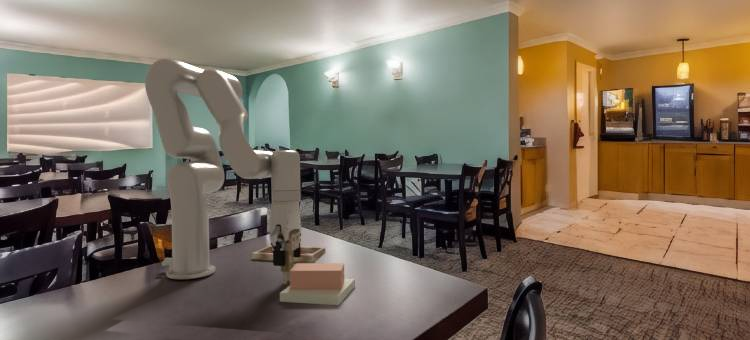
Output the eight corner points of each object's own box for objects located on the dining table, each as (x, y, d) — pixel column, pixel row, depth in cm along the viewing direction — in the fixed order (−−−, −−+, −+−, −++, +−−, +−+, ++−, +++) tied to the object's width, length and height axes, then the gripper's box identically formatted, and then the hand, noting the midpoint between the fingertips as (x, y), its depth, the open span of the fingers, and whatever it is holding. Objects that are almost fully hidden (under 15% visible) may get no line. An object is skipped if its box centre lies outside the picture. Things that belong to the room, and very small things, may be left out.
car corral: (252, 264, 129) (252, 253, 129) (270, 255, 141) (270, 245, 141) (312, 266, 125) (312, 255, 125) (325, 257, 137) (325, 247, 137)
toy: (293, 286, 105) (292, 228, 105) (269, 285, 107) (268, 227, 106) (304, 278, 113) (303, 223, 112) (281, 277, 114) (280, 223, 114)
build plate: (279, 301, 94) (279, 292, 94) (303, 283, 108) (303, 276, 108) (338, 305, 91) (338, 296, 91) (355, 286, 105) (354, 278, 105)
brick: (290, 289, 96) (289, 270, 96) (296, 281, 103) (296, 263, 103) (341, 289, 96) (341, 270, 96) (344, 281, 103) (344, 263, 103)
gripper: (286, 194, 119) (288, 253, 119) (257, 199, 102) (258, 269, 102) (311, 194, 117) (312, 254, 117) (285, 199, 100) (286, 270, 100)
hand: (287, 261), depth 110 cm, fingers open, 9 cm apart
